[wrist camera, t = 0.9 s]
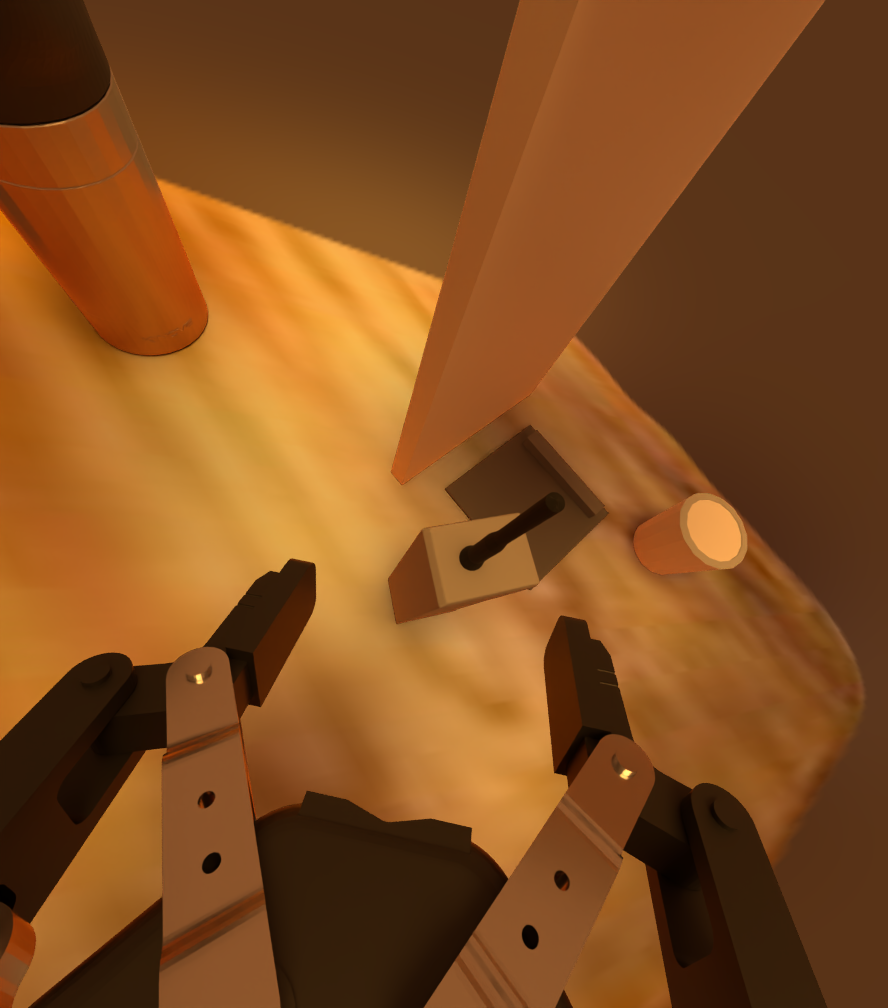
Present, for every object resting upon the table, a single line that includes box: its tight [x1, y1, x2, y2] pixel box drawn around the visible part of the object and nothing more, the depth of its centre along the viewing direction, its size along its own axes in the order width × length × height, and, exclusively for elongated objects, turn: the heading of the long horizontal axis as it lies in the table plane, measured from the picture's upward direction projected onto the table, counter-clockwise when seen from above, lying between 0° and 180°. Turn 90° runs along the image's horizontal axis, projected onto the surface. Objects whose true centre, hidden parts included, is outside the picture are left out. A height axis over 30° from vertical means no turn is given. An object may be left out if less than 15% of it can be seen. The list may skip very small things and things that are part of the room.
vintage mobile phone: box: [388, 492, 565, 624], centre depth 23 cm, size 4×5×25 cm
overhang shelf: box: [391, 0, 825, 590], centre depth 23 cm, size 17×18×36 cm
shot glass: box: [633, 493, 747, 575], centre depth 38 cm, size 7×7×7 cm
